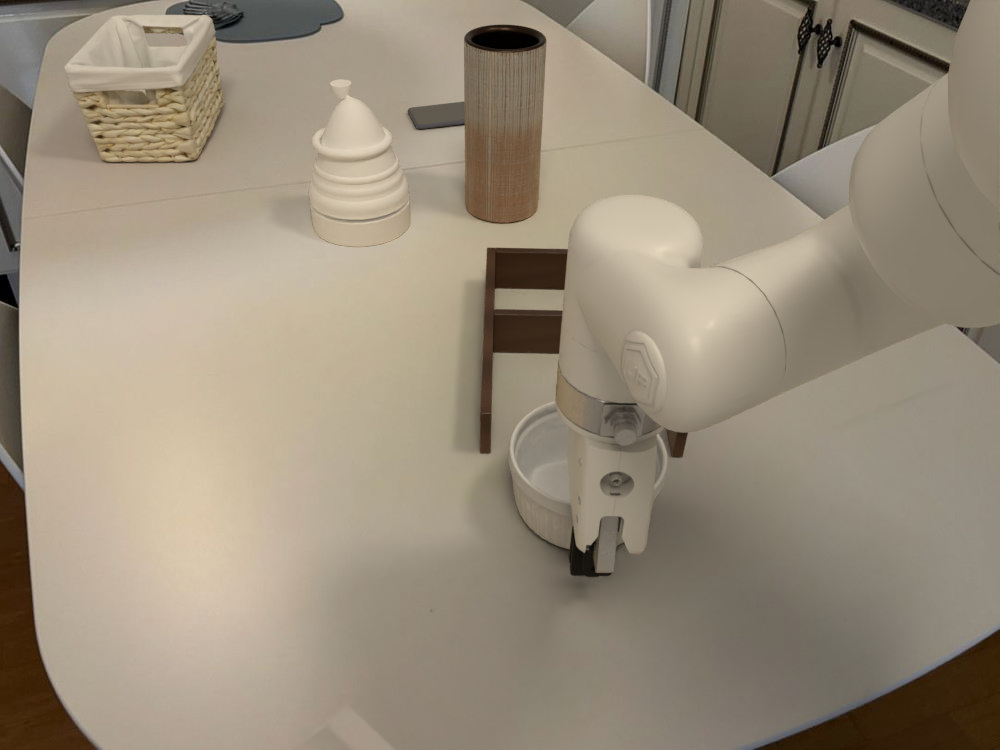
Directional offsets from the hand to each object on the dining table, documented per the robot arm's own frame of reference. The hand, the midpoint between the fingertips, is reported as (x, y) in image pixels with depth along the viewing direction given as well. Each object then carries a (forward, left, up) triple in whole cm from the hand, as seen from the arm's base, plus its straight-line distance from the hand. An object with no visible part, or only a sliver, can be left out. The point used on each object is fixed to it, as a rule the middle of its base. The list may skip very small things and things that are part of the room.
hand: (589, 567), depth 66 cm
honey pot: (+47, -44, -3) cm, 64 cm away
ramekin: (+3, -8, -3) cm, 10 cm away
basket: (+89, -55, -3) cm, 104 cm away
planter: (+32, -56, -3) cm, 64 cm away
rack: (+11, -28, -3) cm, 30 cm away
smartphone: (+51, -81, -3) cm, 95 cm away
